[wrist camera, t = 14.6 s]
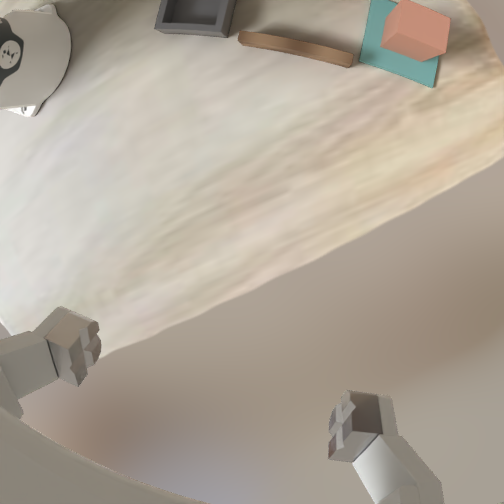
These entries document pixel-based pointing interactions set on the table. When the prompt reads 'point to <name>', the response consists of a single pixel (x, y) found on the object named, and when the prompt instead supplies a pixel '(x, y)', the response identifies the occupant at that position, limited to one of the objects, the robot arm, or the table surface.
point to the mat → (388, 58)
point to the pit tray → (195, 17)
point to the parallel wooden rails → (296, 48)
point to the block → (415, 31)
